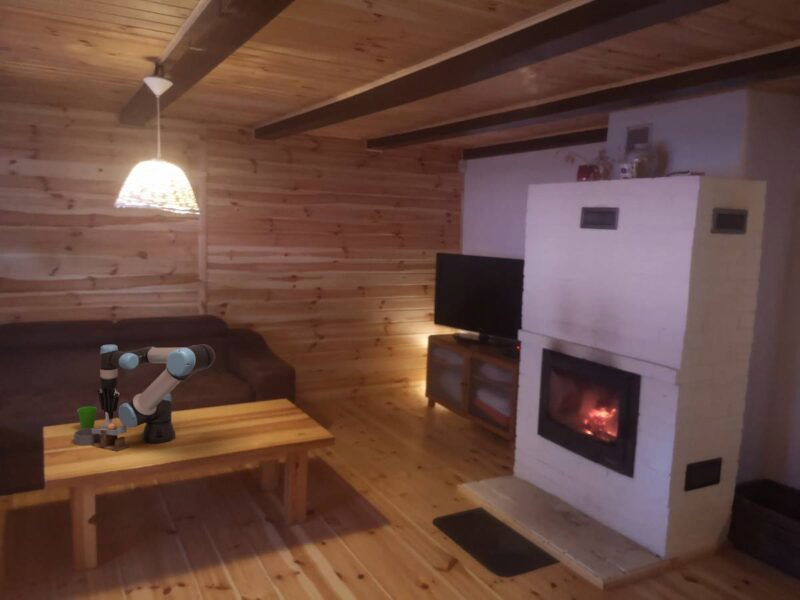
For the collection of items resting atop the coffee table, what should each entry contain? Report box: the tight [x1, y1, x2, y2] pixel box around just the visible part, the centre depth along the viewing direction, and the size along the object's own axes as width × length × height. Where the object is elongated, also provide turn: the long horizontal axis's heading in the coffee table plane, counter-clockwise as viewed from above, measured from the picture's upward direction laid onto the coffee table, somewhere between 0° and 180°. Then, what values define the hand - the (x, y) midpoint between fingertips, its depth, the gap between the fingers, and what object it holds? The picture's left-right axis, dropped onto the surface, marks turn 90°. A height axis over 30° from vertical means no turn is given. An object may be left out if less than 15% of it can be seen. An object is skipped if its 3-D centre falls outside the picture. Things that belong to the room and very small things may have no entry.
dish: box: [73, 427, 101, 446], centre depth 300 cm, size 11×11×4 cm
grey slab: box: [91, 424, 128, 436], centre depth 298 cm, size 16×12×3 cm
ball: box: [108, 422, 117, 430], centre depth 294 cm, size 4×4×4 cm
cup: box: [76, 406, 98, 430], centre depth 315 cm, size 9×9×11 cm
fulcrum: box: [90, 425, 130, 453], centre depth 295 cm, size 16×9×9 cm, turn 68°
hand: (108, 424), depth 303 cm, fingers closed
